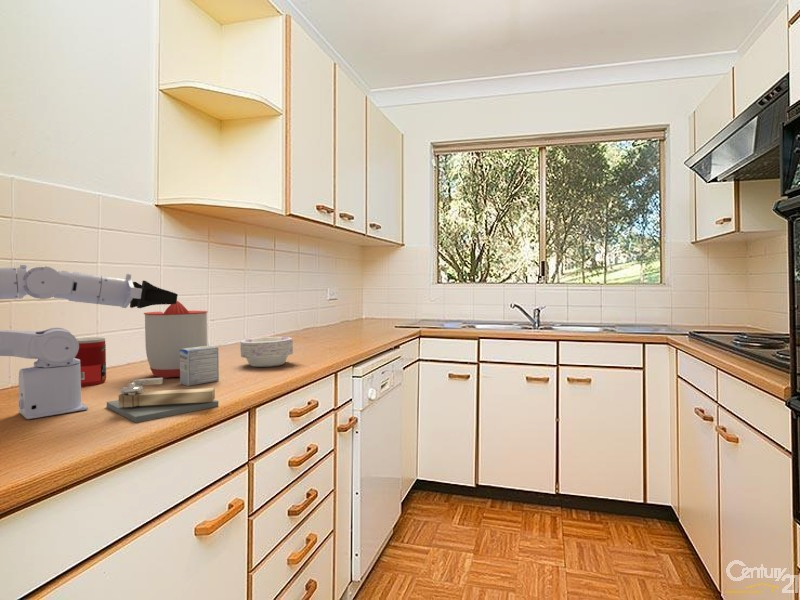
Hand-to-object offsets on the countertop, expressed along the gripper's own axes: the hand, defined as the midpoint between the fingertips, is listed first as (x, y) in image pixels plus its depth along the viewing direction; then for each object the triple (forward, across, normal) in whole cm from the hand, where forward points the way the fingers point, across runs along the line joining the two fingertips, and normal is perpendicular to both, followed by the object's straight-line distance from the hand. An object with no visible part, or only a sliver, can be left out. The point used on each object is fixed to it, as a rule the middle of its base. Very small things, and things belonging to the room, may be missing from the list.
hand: (172, 299), depth 102 cm
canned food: (-10, +28, +22) cm, 37 cm away
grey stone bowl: (+35, +25, +15) cm, 45 cm away
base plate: (-1, -9, +22) cm, 23 cm away
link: (-1, -13, +20) cm, 24 cm away
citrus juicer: (+10, +27, +19) cm, 34 cm away
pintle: (-6, -10, +22) cm, 25 cm away
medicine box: (+12, +11, +19) cm, 25 cm away
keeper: (-3, -5, +22) cm, 22 cm away
